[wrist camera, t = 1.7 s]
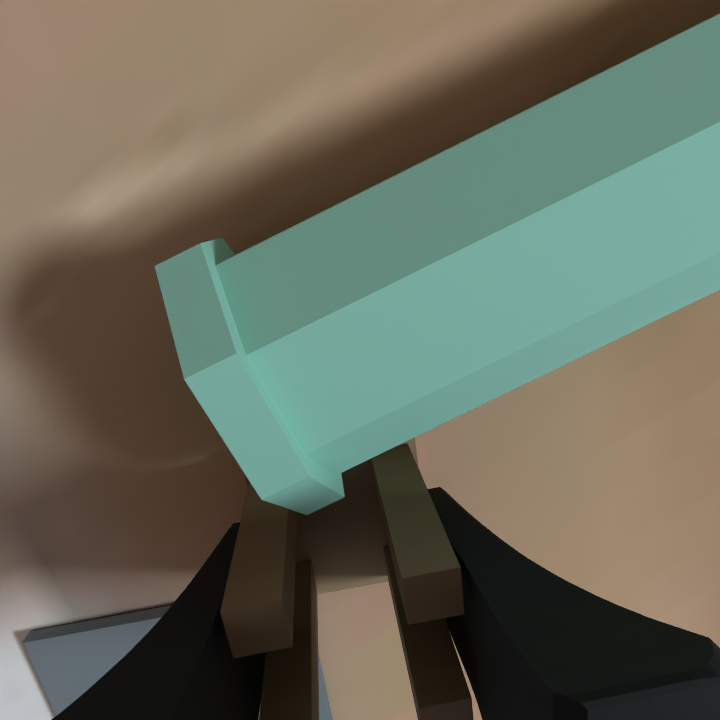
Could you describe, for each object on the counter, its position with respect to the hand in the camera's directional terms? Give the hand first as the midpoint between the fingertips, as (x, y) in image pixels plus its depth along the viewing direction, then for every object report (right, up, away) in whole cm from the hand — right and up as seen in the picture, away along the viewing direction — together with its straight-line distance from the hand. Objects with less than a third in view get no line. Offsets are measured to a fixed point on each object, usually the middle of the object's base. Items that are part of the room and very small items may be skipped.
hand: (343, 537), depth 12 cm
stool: (0, +1, +2) cm, 2 cm away
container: (+9, +10, 0) cm, 14 cm away
